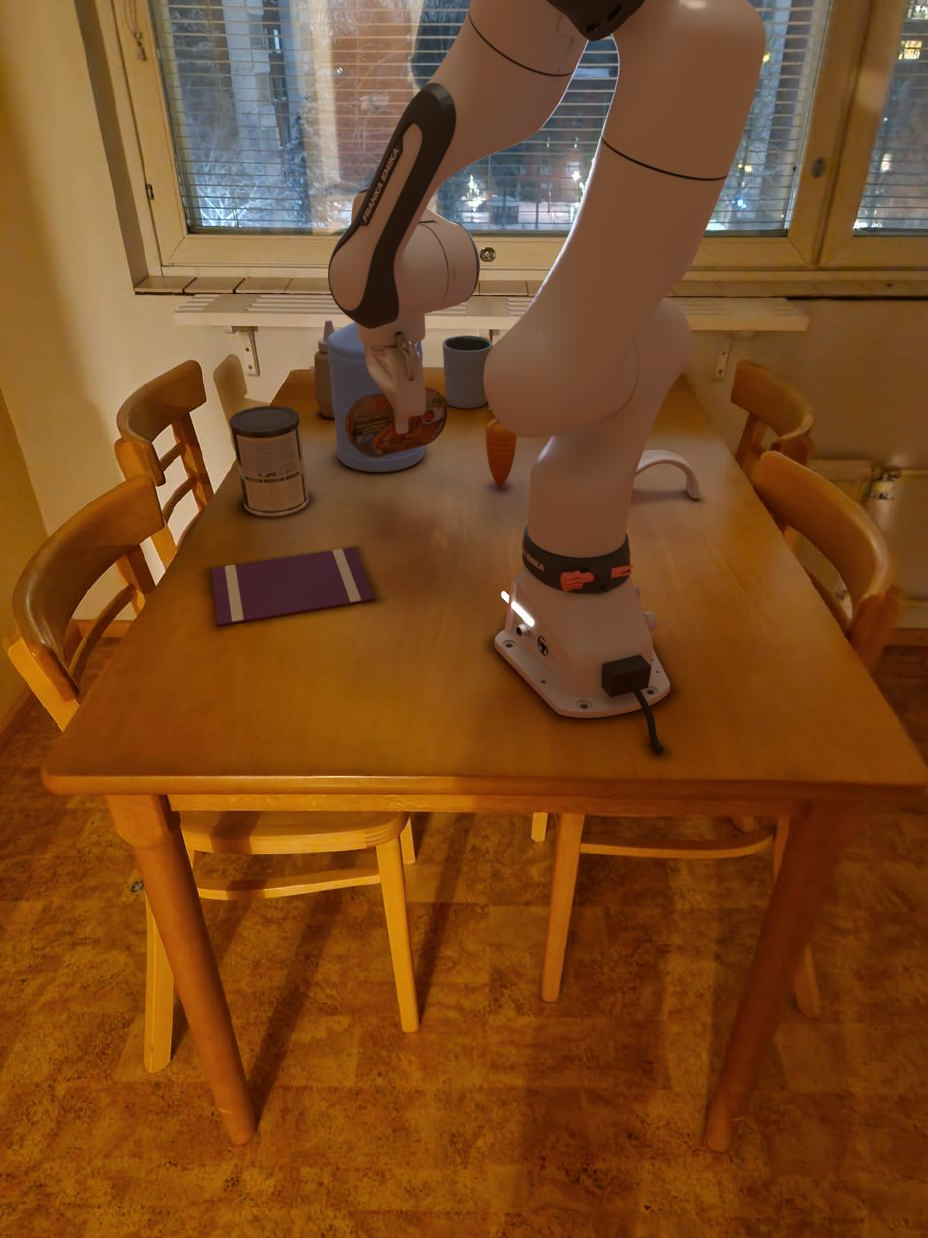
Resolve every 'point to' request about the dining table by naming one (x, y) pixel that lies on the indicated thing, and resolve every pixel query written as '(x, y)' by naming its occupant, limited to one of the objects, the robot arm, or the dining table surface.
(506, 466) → the carrot
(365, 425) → the tin
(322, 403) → the squeeze bottle
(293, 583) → the cloth
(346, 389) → the water jug
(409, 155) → the robot arm
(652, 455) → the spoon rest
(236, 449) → the coffee can
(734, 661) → the dining table surface
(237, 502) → the dining table surface
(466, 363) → the grey cup
